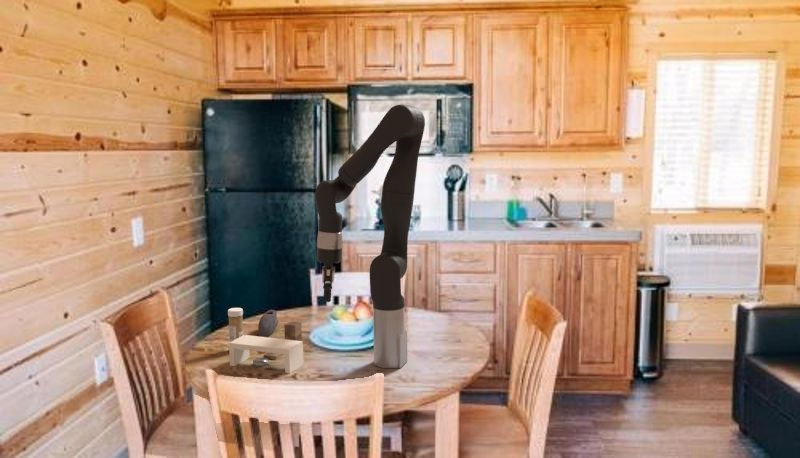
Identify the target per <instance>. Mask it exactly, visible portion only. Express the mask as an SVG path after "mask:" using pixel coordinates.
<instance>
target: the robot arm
mask: <svg viewBox="0 0 800 458" xmlns="http://www.w3.org/2000/svg"><path fill="white" fill-rule="evenodd" d="M425 127H426V119H425V115H424V113H423V111H422V110H421V109H420V108H419V107H417V106H414V105H409V104H396V105H393V106H392V107H390V109H389V110H388V111H387V112H385V115H384V116H383V118H382V119H381V120H380V122H379V123H378V124H377V126H376V127H375V128H374V130H373V131H372V133H371V134H370V135H369V136H368V137H367V139H366V140H365V141H364V142H363V144H361V146H360V147H359V148H358V149H357V150H356V151H355V152H354V153H353V154H352V155H351V156H350V157H349V158H348V159H347V160H346V161H345V162H344V163H343V164H342V165H341V166H340V167H339V168H338V173H337V174H338V176H337V177H335V178H334V179H331V180H322V181H321V182H319V183H318V184H317V186H316V189H315V192H314V193H315V194H314V196H315V204H316V209H317V213H318V232H317V240H316V261H317V262H319V263H322V264H324V266H322V267H321V274H322V277H321V278H322V279H321V281H322V284H323V286H322V289H323V299H322V300H323V302H324V303H330V302H331V301H332V290H333V286H332V285H333V283H334V280H335V274H336V266H333V265H334V264H339V263H341V262H342V255H343V215H342V213H340V212H338V211H337V205H336V204H338V203H339V204H340V203H342V202H344V201H345V200H347V198H349V197H350V195H351V194H352V192H353V191H354V190H355V188H356V186H358V184H359V183H360V182H361V181H362V180H363V179H364V178H365V177H366V176H367V175H369V173H370V172H371V171H372V170H373V168H375V166H376V165H377V164H378V161H379V159H380V157H381V156H382V154H383V153H384V152H385V151H386V150H387V149H388V148H389V147H390V146H392V145H393V144H394V143H395V151H394V155H393V158H392V161H391V163H390V166H389V168H388V170H387V172H386V174H385V176H384V180H383V184H382V189H381V197H380V198H381V199H380V200H381V201H380V214H381V219H382V224H383V240H382V247H381V251H380V254H379V255H377V256H375V257H374V258H373V259H372V261H371V263H370V266H369V289H370V291H369V292H370V298H371V300H372V311H373V312H372V322H373V323H372V324H373V325H372V328H373V332H372V333H373V364H374V366H376V367H378V368H381V369H401V368H403V366H404V365H405V364H406V363H407V362H408V331H407V330H405V327H406V325H405V324H406V322H405V320H406V319H405V318H406V317H405V315H406V314H405V312H406V311H405V310H406V309H405V297H404V296H403V295H402V285H401V279H403V278H404V276H405V275H406V272H407V269H408V239H409V231H410V225H411V220H412V213H413V206H414V199H415V190H416V189H415V188H416V181H417V180H416V179H417V171H418V162H419V154H420V149H421V145H422V140H423V136H424V132H425Z"/></svg>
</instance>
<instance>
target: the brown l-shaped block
mask: <svg viewBox="0 0 800 458" xmlns="http://www.w3.org/2000/svg"><path fill="white" fill-rule="evenodd" d="M283 326H284V327H283V329H284V339H287V340H296V341H303V339H302V338H303V336H302V335H303V334H302V322H301V321H294V320H293V321H292V320H290V321H288V322H286V323H284V325H283ZM283 356H285V354H278V353H269V352H265V353H264V354H263V358H267V359H268V360H278V359H280V358H281V357H283Z"/></svg>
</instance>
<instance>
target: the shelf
mask: <svg viewBox="0 0 800 458" xmlns="http://www.w3.org/2000/svg"><path fill="white" fill-rule="evenodd" d="M228 349H229V350H228V352H229V366H231V367H236V366H237V365H240V364H241V363H243V362H244V361H247V360H248V359H250V351H252V352H253V351H254V352H263V353H268V352H269V353H278V354H284V369H285V370H284V373H286V374H291V373H293V372H294V371H296V370H297V369H299V368H300V367H302V366H303V365H304V364H305V362H304V341H303V340H302V341H296V340H287V339H285V338H277V337H276V338H275V337H269V336H267V337H261V336H260V335H259V336H257V335H249V334H248V335H247V334H244V335H243V336H241V337H239V338H237V339H235V340H234V341H232V342H230V341H229V343H228Z"/></svg>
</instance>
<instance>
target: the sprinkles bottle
mask: <svg viewBox="0 0 800 458" xmlns="http://www.w3.org/2000/svg"><path fill="white" fill-rule="evenodd" d="M243 315H244V310H243V308H241V307H231V308H229V309H228V310H227V317H228V334H229V335H228V337H229V343H230V342H232V341H234V340H235V339H237V338H239V337H241V336H243V335H245V334H244V325H243V324H244V323H243V320H244V319H243Z"/></svg>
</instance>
